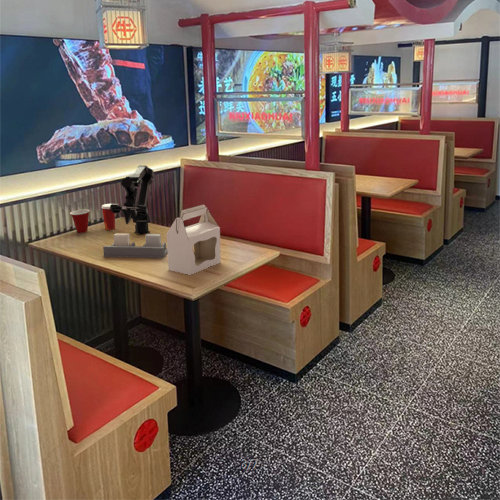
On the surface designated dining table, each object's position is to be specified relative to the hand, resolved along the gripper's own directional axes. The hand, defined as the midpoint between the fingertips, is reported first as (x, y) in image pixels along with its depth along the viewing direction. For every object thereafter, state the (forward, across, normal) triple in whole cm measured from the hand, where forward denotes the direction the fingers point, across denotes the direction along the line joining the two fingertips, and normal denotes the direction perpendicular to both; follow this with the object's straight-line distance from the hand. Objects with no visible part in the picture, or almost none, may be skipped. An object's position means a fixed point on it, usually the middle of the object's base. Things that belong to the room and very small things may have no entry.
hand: (126, 223), depth 280 cm
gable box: (+28, -39, +17) cm, 51 cm away
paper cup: (-13, +18, -35) cm, 41 cm away
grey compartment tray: (+17, -8, +1) cm, 18 cm away
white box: (+14, -16, +1) cm, 21 cm away
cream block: (+14, 0, 0) cm, 14 cm away
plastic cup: (-8, +33, -31) cm, 46 cm away
